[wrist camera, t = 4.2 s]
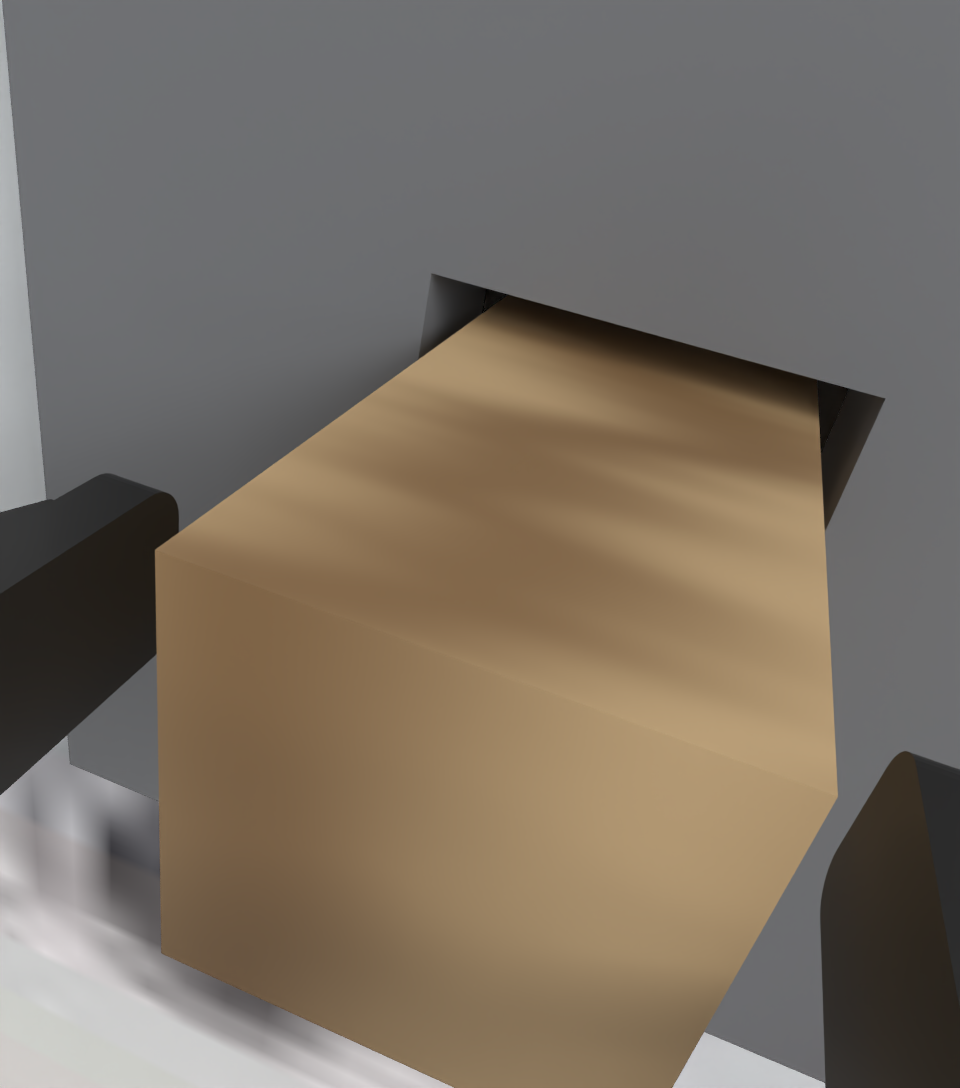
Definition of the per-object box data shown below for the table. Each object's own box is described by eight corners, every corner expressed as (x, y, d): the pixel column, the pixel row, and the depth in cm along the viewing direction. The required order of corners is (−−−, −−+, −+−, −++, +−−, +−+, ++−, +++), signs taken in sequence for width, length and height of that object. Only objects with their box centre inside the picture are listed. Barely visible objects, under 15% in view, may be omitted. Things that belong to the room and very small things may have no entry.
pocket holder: (1858, -141, 9) (2294, -232, 6) (944, 1000, 19) (965, 1142, 16) (131, -378, 12) (-42, -497, 10) (152, 688, 23) (70, 764, 20)
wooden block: (816, 364, 14) (839, 797, 5) (716, 613, 16) (627, 1166, 8) (522, 284, 15) (156, 549, 6) (471, 532, 17) (160, 952, 9)
